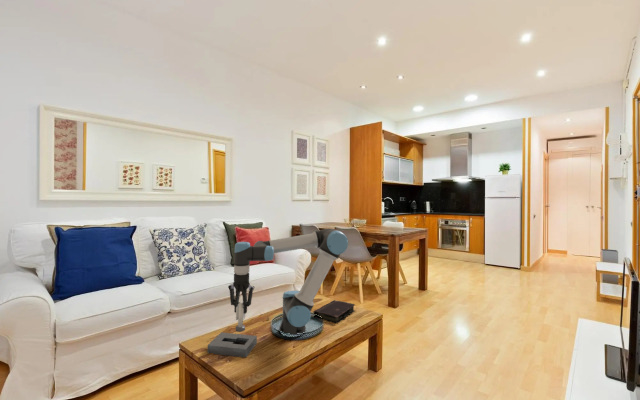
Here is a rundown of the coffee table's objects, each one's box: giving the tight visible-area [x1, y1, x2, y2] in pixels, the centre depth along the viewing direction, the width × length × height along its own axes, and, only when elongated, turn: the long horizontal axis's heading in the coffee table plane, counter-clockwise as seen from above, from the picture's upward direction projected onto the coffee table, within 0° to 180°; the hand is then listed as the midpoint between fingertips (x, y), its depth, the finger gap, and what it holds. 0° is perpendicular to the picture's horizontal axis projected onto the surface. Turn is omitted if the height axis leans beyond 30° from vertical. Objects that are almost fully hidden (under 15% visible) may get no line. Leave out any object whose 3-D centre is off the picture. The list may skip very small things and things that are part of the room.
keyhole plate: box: [207, 331, 258, 359], centre depth 155 cm, size 20×14×4 cm
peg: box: [235, 301, 246, 333], centre depth 154 cm, size 5×5×14 cm
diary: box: [313, 299, 356, 324], centre depth 202 cm, size 19×25×5 cm
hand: (240, 319), depth 154 cm, fingers closed on peg, 2 cm apart
